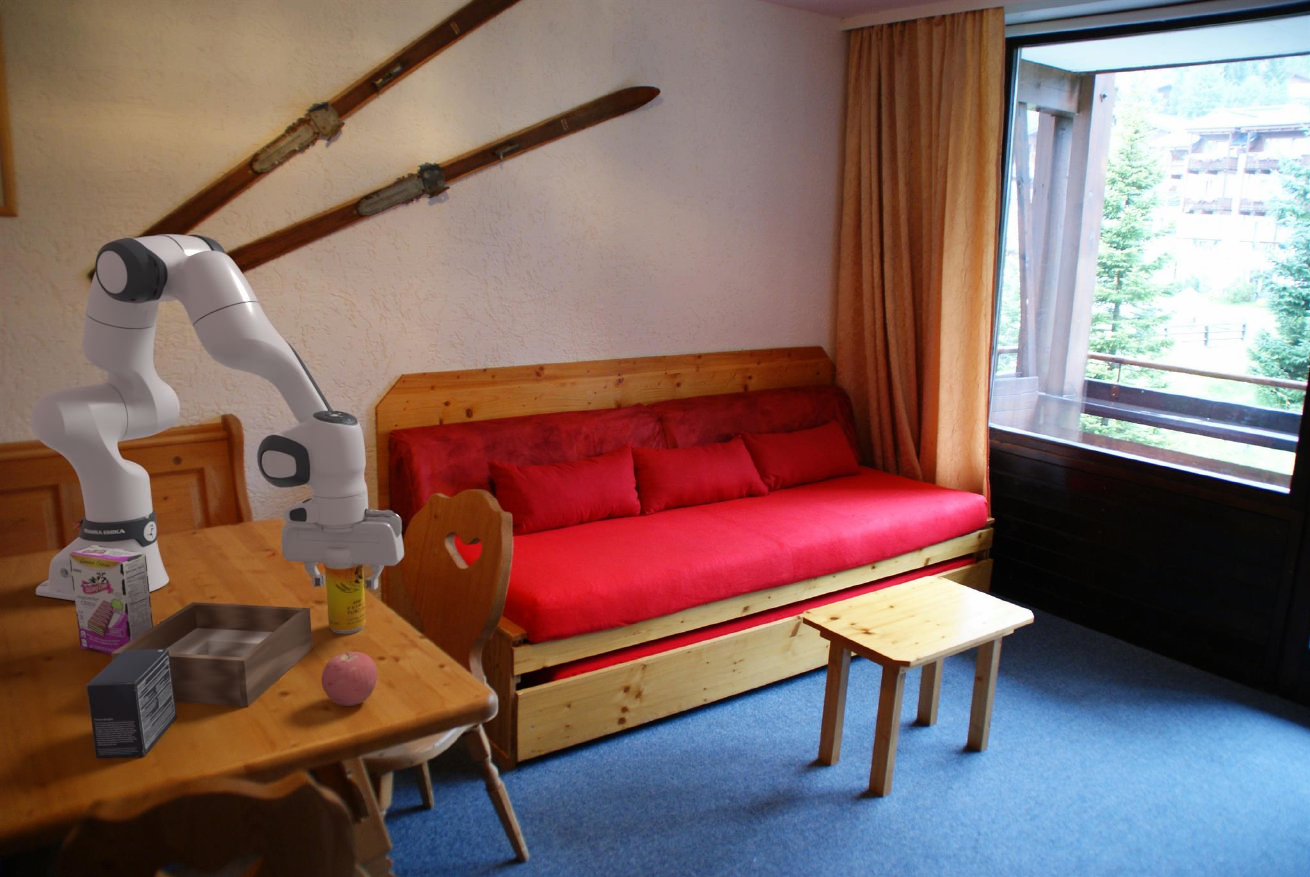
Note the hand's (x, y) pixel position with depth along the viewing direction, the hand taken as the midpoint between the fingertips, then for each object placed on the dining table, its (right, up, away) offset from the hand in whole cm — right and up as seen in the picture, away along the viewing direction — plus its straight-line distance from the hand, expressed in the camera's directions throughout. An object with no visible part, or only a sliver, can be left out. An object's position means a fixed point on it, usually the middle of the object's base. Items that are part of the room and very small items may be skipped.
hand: (345, 587), depth 162 cm
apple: (+9, -13, -25) cm, 30 cm away
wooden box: (-14, -11, -16) cm, 24 cm away
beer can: (0, -7, +2) cm, 8 cm away
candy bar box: (-34, -9, -8) cm, 36 cm away
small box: (-16, -15, -35) cm, 41 cm away
